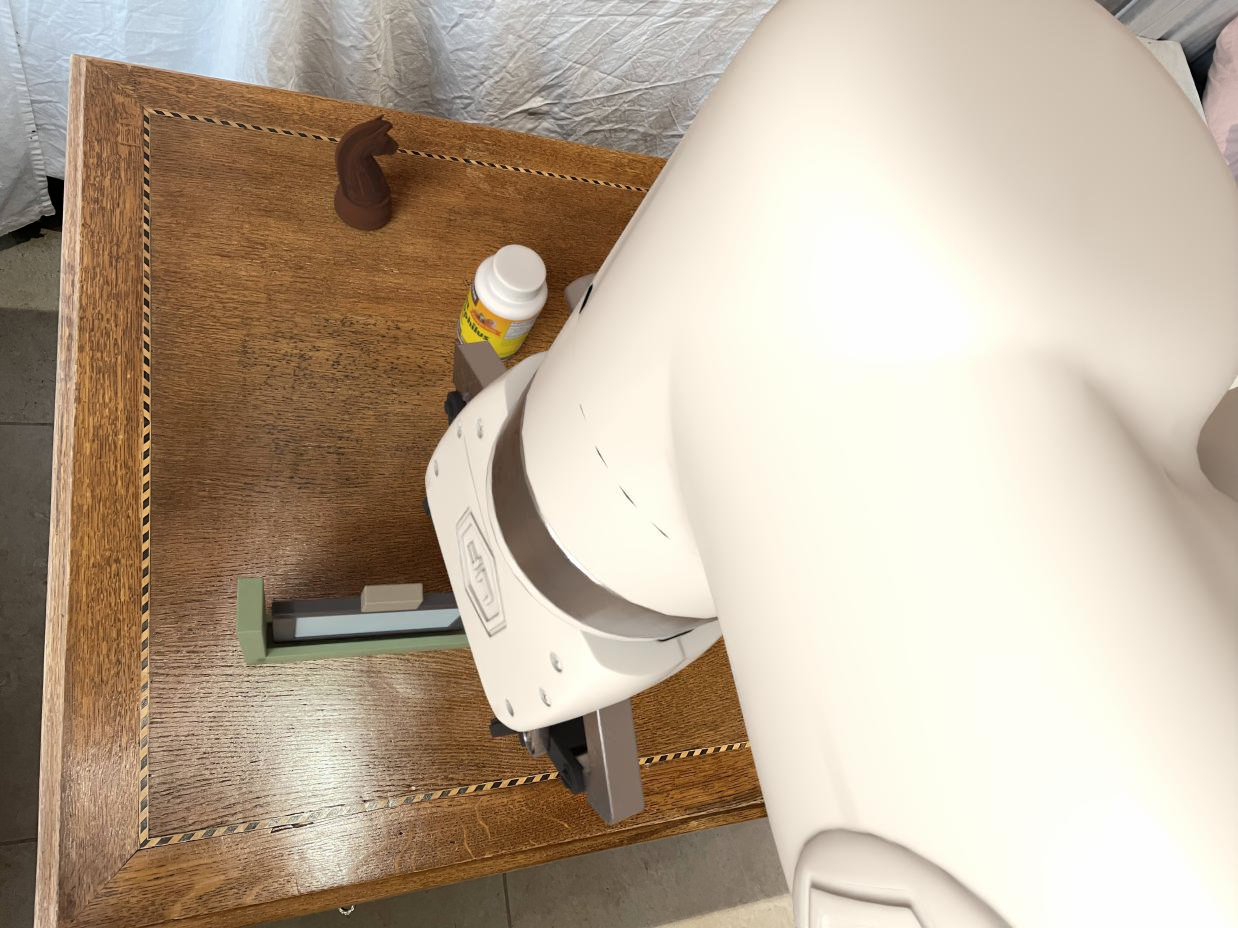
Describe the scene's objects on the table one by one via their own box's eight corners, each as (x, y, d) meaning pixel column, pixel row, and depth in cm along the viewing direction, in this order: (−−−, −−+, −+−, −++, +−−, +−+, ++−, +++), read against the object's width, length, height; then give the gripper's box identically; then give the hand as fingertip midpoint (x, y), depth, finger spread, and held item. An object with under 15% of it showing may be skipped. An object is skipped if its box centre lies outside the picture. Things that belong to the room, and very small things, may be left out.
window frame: (633, 634, 61) (712, 602, 50) (246, 665, 51) (235, 632, 39) (628, 598, 62) (705, 559, 51) (247, 621, 51) (237, 577, 40)
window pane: (461, 632, 55) (505, 596, 44) (273, 645, 50) (270, 609, 39) (460, 617, 55) (504, 578, 44) (273, 629, 50) (271, 589, 40)
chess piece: (401, 223, 66) (419, 140, 58) (344, 239, 64) (354, 155, 55) (375, 179, 67) (388, 91, 58) (317, 194, 64) (323, 103, 56)
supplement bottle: (444, 314, 65) (469, 241, 56) (504, 300, 67) (537, 227, 59) (471, 373, 64) (502, 308, 55) (531, 356, 66) (569, 291, 58)
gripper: (402, 192, 20) (350, 442, 34) (636, 916, 16) (464, 847, 31) (657, 179, 23) (510, 412, 38) (900, 772, 19) (630, 773, 34)
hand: (489, 607), depth 34 cm, fingers open, 9 cm apart
